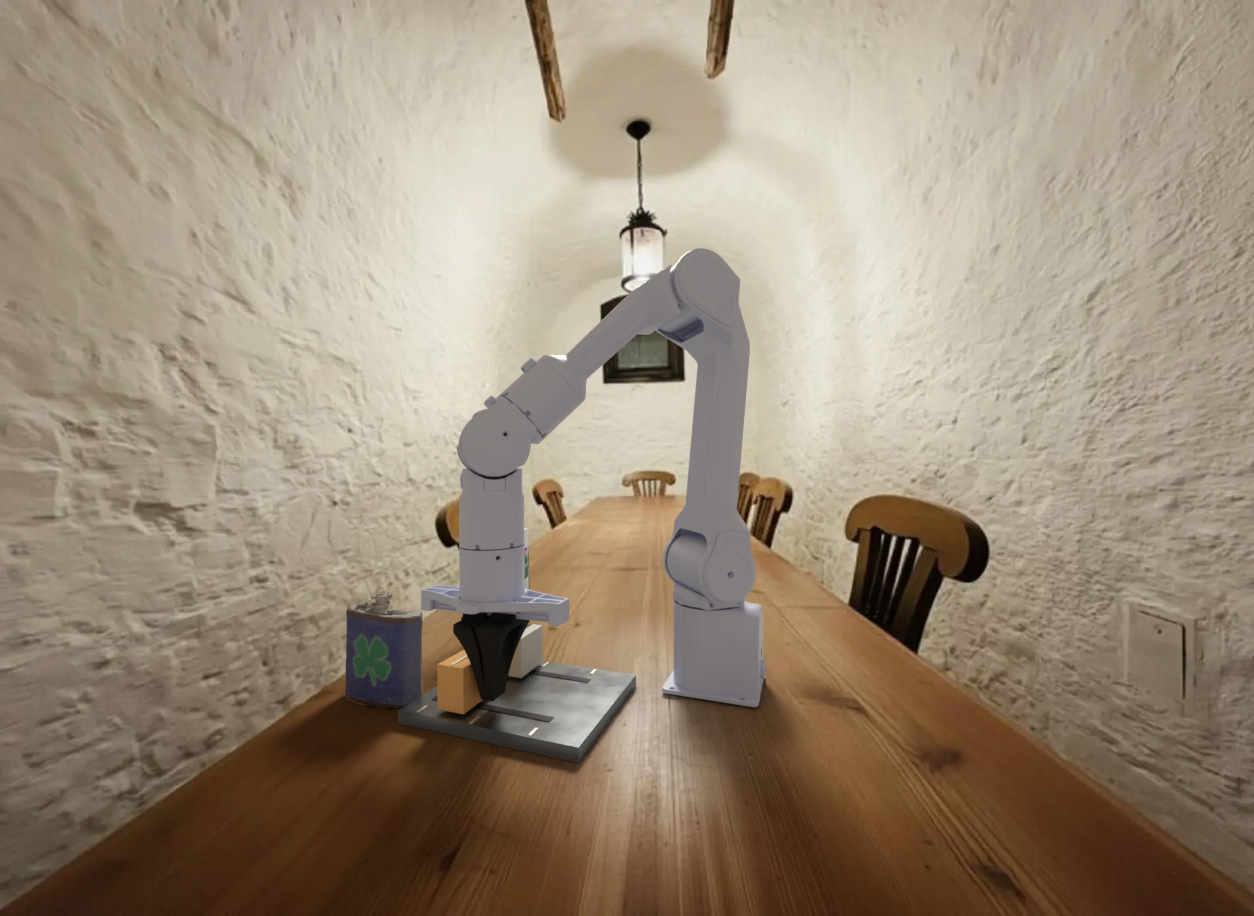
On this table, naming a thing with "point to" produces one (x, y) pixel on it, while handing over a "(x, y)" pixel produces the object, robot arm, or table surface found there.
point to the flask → (383, 654)
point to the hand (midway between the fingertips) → (492, 695)
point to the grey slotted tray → (534, 711)
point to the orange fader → (456, 684)
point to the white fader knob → (528, 651)
